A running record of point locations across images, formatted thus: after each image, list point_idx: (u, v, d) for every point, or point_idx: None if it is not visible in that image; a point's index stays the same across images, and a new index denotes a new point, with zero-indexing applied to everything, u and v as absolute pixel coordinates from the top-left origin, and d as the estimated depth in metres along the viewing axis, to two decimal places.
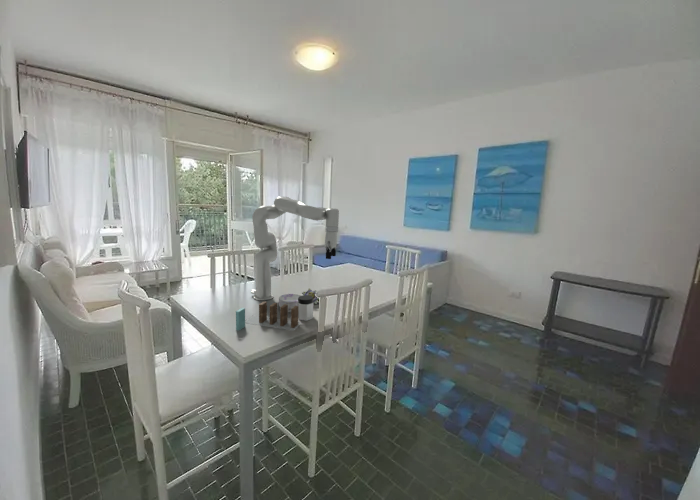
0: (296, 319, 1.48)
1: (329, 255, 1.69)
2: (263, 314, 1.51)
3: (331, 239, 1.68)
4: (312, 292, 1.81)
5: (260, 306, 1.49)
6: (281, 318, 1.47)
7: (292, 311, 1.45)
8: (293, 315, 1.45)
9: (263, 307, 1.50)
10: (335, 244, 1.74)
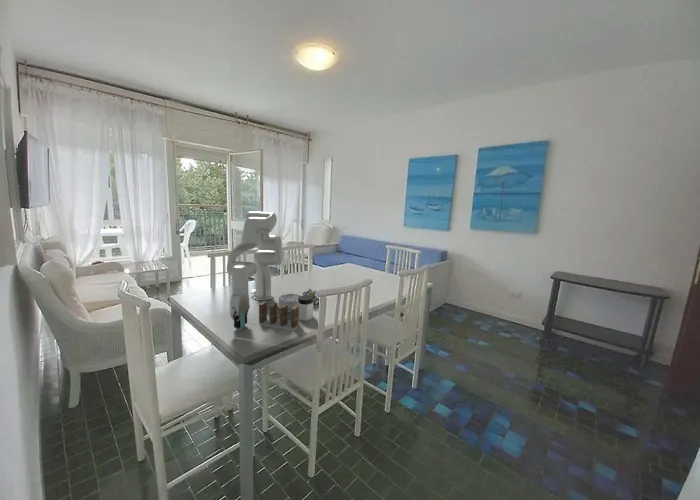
0: (296, 319, 1.48)
1: (237, 324, 1.39)
2: (263, 314, 1.51)
3: (237, 304, 1.36)
4: (312, 292, 1.81)
5: (260, 306, 1.49)
6: (281, 318, 1.47)
7: (292, 311, 1.45)
8: (293, 315, 1.45)
9: (263, 307, 1.50)
10: (246, 307, 1.43)
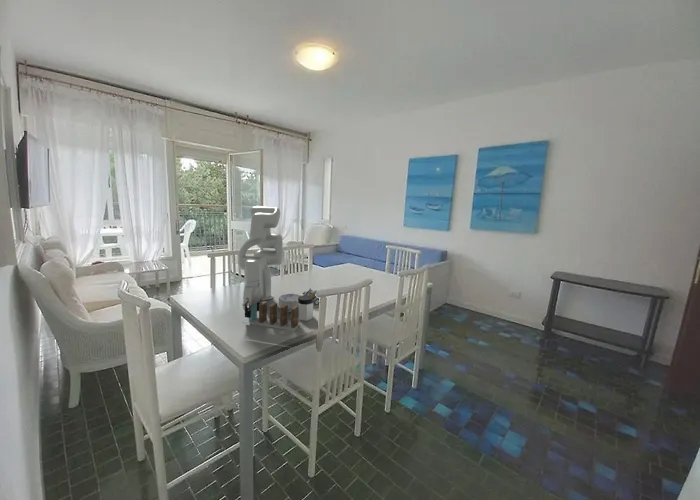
0: (296, 319, 1.48)
1: (248, 314, 1.48)
2: (263, 314, 1.51)
3: (250, 295, 1.47)
4: (313, 292, 1.81)
5: (260, 306, 1.49)
6: (281, 318, 1.47)
7: (292, 311, 1.45)
8: (293, 315, 1.45)
9: (263, 307, 1.50)
10: (258, 299, 1.53)
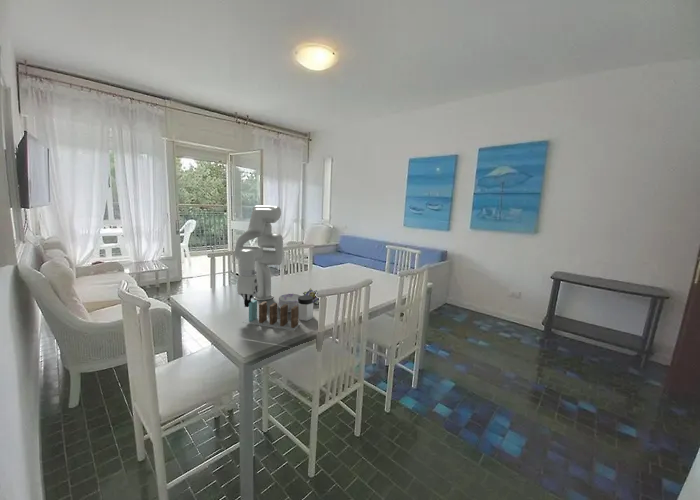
0: (296, 319, 1.48)
1: (244, 302, 1.53)
2: (263, 314, 1.51)
3: None
4: (313, 292, 1.81)
5: (260, 306, 1.49)
6: (281, 318, 1.47)
7: (292, 311, 1.45)
8: (293, 315, 1.45)
9: (263, 307, 1.50)
10: (247, 291, 1.49)
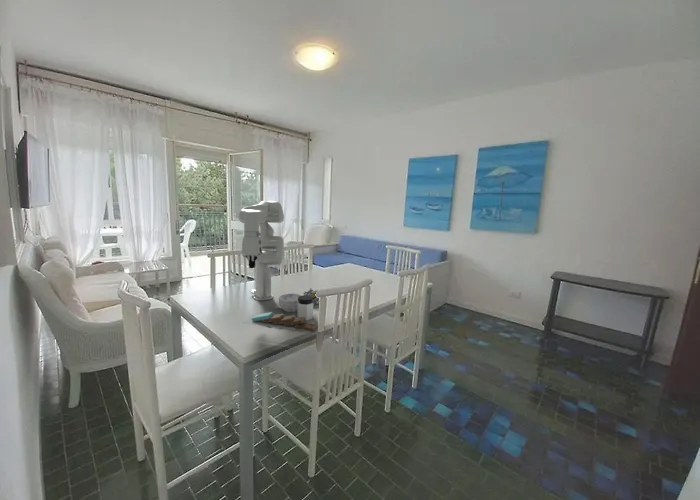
0: None
1: (249, 264, 1.55)
2: None
3: None
4: (313, 292, 1.81)
5: (277, 319, 1.48)
6: (291, 323, 1.46)
7: (311, 329, 1.44)
8: None
9: None
10: (251, 252, 1.52)
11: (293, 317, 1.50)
